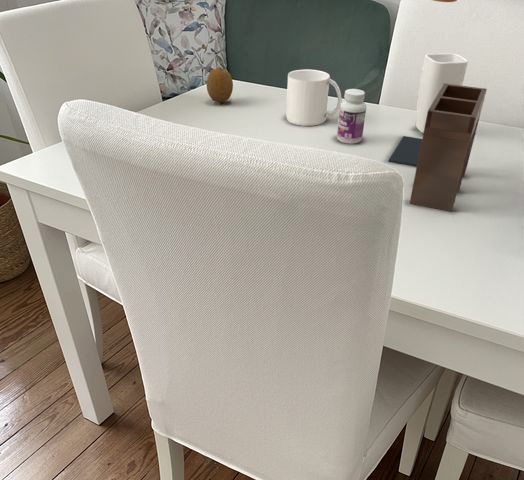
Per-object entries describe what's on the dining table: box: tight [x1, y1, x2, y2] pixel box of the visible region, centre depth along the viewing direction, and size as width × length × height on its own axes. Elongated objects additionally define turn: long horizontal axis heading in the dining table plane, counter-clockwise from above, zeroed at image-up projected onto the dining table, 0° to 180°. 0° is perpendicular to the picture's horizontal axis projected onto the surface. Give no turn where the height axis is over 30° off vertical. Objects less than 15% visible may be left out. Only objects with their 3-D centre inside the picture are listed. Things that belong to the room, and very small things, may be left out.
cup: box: [415, 52, 469, 135], centre depth 119 cm, size 7×7×15 cm
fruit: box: [206, 66, 234, 105], centre depth 134 cm, size 6×6×8 cm
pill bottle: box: [336, 88, 367, 145], centre depth 117 cm, size 5×5×10 cm
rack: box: [409, 83, 488, 212], centre depth 97 cm, size 7×16×16 cm, turn 157°
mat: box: [388, 135, 422, 167], centre depth 115 cm, size 8×14×1 cm, turn 157°
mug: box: [285, 68, 343, 127], centre depth 126 cm, size 12×9×9 cm
